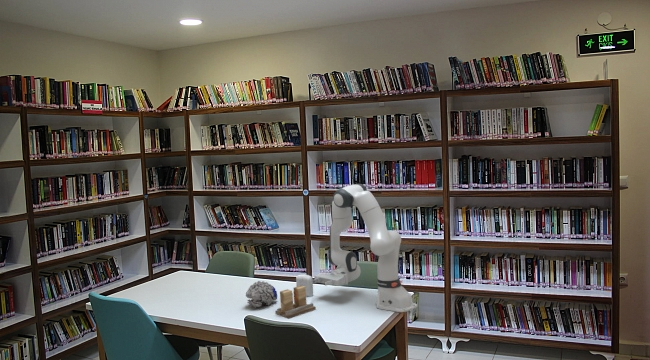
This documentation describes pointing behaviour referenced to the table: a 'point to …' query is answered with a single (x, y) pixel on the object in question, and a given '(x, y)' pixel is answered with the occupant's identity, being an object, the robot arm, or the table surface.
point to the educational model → (261, 294)
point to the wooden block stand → (291, 306)
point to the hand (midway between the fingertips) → (318, 282)
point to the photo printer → (305, 283)
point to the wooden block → (299, 296)
